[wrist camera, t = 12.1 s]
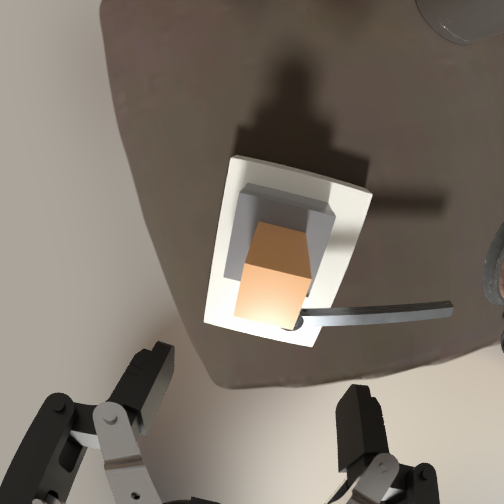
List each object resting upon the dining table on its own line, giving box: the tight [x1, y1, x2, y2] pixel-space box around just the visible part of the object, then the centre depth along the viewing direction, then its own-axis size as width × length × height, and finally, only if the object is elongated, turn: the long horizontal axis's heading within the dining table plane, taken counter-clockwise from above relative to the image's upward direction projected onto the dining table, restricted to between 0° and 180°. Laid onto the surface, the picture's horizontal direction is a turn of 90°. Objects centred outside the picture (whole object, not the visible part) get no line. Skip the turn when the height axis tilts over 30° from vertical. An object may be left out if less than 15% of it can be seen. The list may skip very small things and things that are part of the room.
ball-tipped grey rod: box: [280, 301, 454, 331], centre depth 24 cm, size 18×2×1 cm, turn 95°
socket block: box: [204, 155, 373, 347], centre depth 29 cm, size 20×14×8 cm
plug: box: [223, 189, 336, 330], centre depth 22 cm, size 8×8×12 cm
